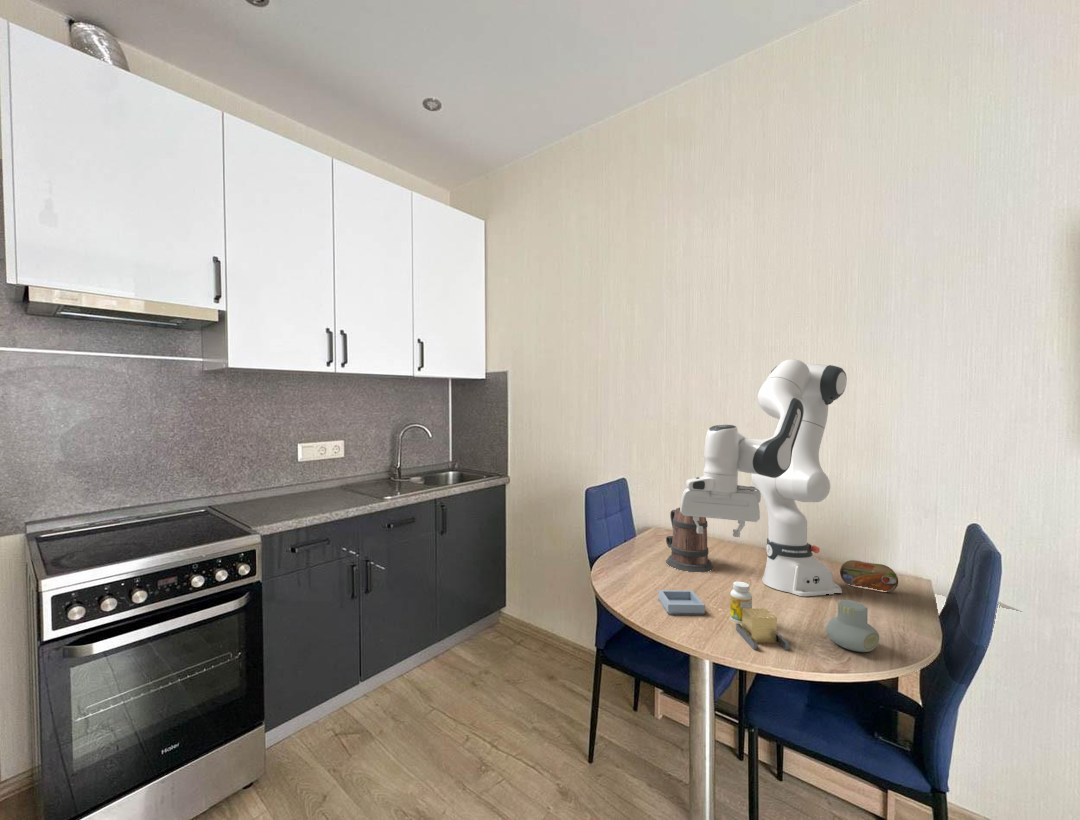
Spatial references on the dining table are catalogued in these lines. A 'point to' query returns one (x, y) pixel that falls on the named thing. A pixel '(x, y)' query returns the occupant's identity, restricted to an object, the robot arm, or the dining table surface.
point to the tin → (869, 575)
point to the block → (760, 624)
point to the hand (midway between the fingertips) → (717, 534)
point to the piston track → (753, 643)
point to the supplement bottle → (739, 600)
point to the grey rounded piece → (852, 627)
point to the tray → (681, 602)
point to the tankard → (688, 544)
